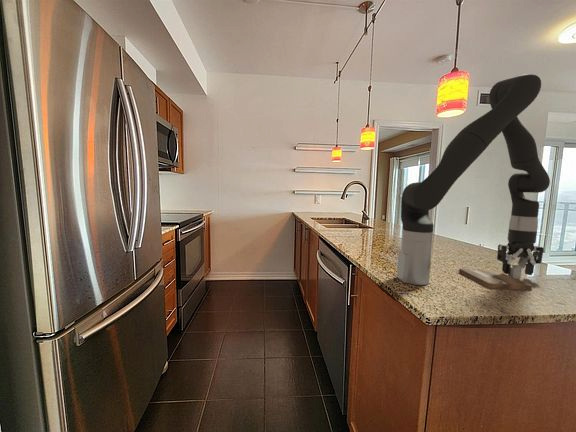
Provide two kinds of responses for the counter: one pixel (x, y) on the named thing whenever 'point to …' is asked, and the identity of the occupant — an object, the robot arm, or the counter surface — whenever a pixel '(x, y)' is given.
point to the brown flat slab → (495, 279)
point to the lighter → (517, 268)
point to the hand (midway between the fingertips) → (517, 273)
